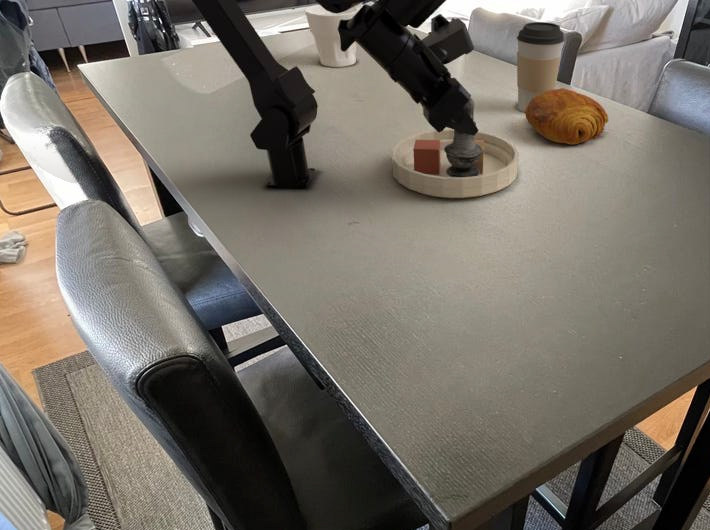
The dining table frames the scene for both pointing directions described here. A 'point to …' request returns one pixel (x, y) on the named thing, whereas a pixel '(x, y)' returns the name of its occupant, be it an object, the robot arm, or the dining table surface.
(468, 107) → the grey turned piece
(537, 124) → the croissant
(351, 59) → the cup
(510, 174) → the round wooden tray
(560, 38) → the coffee cup
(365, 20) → the robot arm
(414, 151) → the block
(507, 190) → the dining table surface
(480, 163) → the block
